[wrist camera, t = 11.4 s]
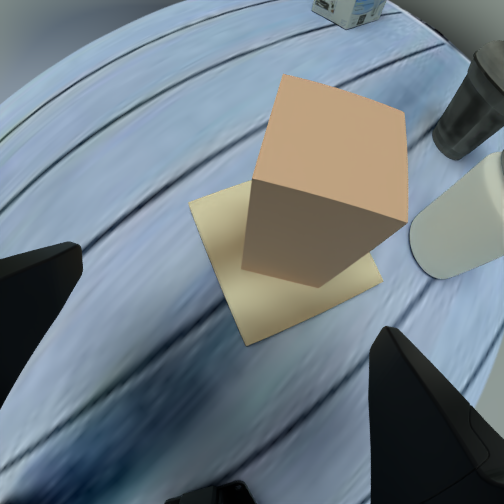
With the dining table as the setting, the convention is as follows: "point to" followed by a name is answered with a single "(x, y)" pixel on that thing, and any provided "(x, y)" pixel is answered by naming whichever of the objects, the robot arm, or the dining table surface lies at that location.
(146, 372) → the dining table surface
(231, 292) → the brass board
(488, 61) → the beverage cup
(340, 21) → the light bulb box
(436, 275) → the can
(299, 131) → the tall block
